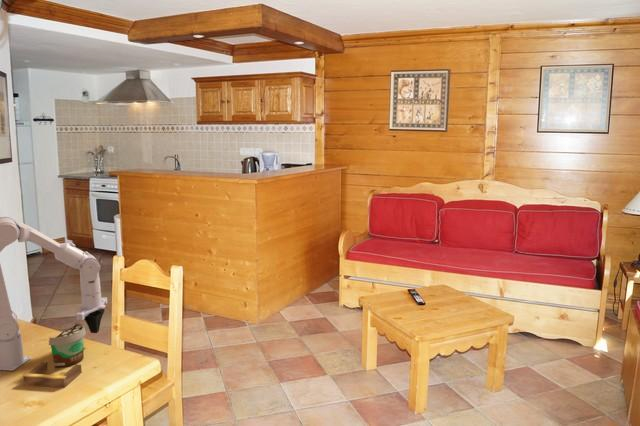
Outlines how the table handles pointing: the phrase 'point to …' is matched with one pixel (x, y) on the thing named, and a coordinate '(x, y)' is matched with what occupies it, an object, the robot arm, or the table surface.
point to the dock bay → (50, 376)
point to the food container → (68, 346)
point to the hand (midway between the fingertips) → (94, 332)
